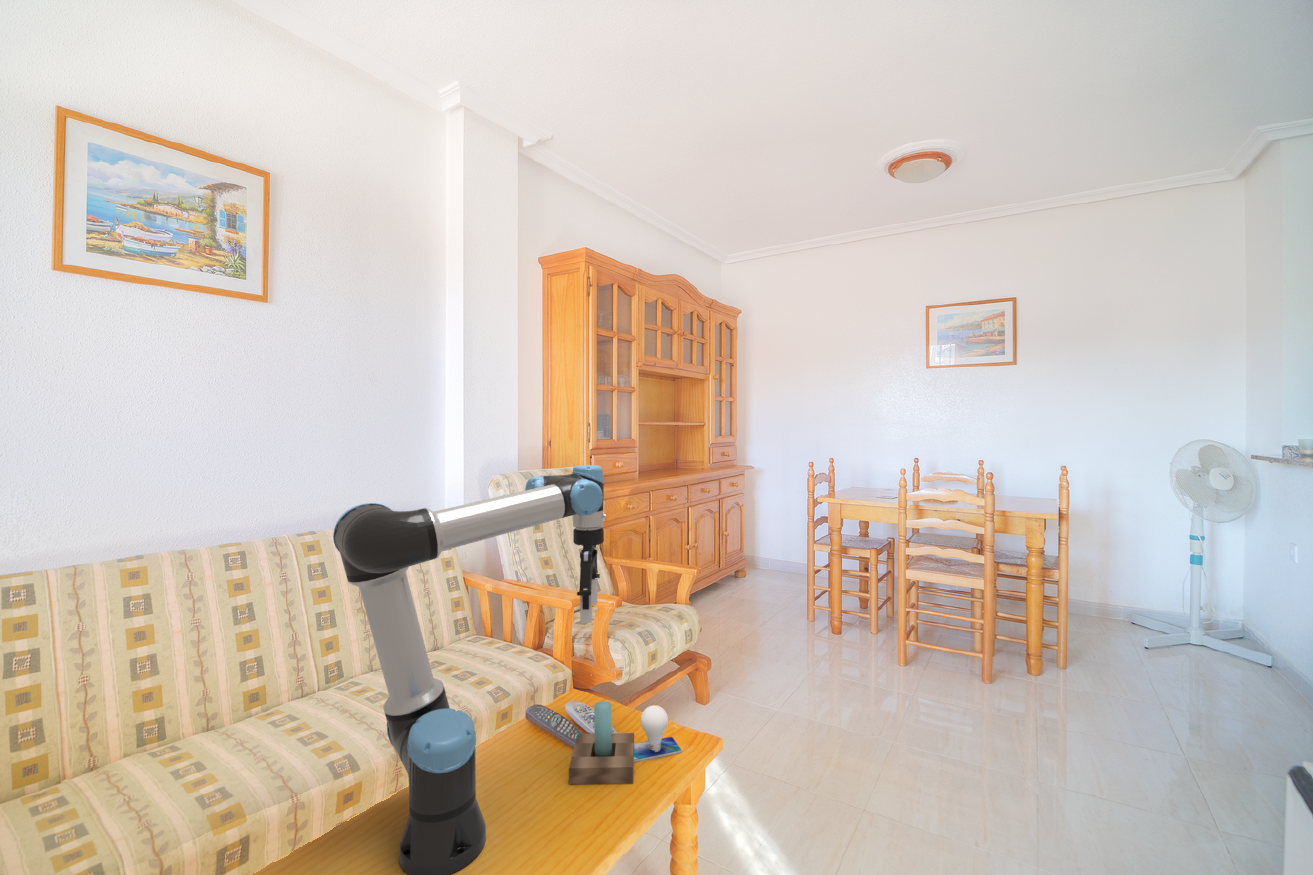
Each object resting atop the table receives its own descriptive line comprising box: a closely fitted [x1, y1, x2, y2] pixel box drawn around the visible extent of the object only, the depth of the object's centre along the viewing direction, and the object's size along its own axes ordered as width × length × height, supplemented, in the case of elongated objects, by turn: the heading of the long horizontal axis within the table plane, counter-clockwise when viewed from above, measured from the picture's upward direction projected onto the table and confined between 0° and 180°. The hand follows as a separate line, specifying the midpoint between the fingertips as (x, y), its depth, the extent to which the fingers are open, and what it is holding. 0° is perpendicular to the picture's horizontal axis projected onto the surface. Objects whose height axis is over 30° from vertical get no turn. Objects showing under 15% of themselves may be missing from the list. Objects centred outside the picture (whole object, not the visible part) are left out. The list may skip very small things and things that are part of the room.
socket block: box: [568, 732, 635, 785], centre depth 130 cm, size 14×14×4 cm
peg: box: [593, 700, 613, 757], centre depth 130 cm, size 4×4×14 cm
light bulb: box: [640, 704, 669, 753], centre depth 135 cm, size 7×7×11 cm
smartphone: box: [634, 736, 682, 764], centre depth 136 cm, size 7×1×15 cm
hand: (589, 612), depth 139 cm, fingers open, 13 cm apart
